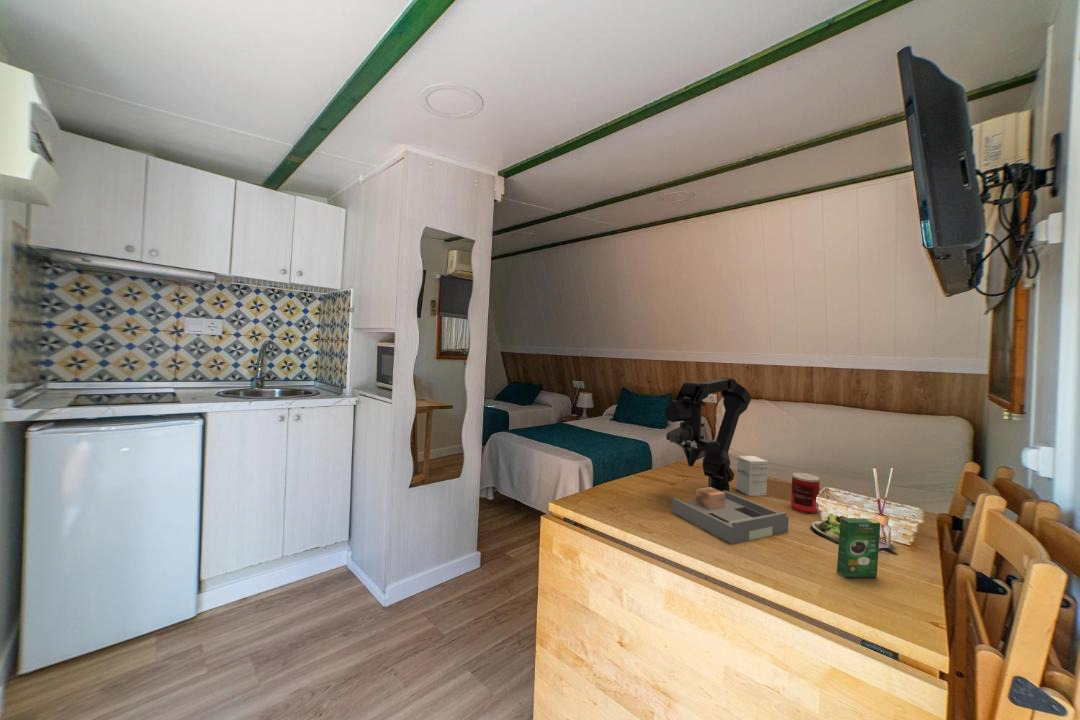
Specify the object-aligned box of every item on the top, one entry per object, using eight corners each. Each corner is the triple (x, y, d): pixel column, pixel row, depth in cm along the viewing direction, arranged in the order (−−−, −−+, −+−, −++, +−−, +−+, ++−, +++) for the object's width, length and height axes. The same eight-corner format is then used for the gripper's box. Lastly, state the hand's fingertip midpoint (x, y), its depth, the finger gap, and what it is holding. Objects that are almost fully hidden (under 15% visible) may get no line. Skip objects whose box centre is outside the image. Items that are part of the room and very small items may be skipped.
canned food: (810, 505, 143) (811, 473, 143) (823, 514, 135) (825, 480, 135) (786, 504, 144) (787, 471, 144) (798, 513, 136) (799, 479, 136)
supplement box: (735, 489, 158) (736, 455, 157) (753, 488, 159) (754, 455, 159) (748, 496, 151) (750, 461, 150) (767, 495, 152) (768, 460, 152)
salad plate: (918, 552, 112) (919, 535, 112) (869, 560, 107) (870, 542, 107) (846, 522, 130) (847, 507, 130) (801, 528, 125) (801, 513, 125)
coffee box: (868, 571, 101) (871, 517, 100) (878, 578, 98) (881, 522, 97) (835, 571, 100) (838, 516, 100) (845, 578, 97) (848, 522, 97)
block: (695, 502, 136) (696, 489, 136) (709, 500, 138) (710, 486, 138) (710, 509, 130) (710, 495, 130) (724, 507, 133) (725, 493, 133)
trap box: (672, 512, 134) (673, 495, 134) (724, 503, 143) (724, 487, 143) (731, 544, 113) (732, 523, 113) (787, 531, 122) (788, 512, 122)
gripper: (654, 416, 147) (653, 461, 148) (694, 426, 130) (692, 476, 130) (679, 414, 151) (678, 458, 152) (721, 424, 134) (719, 473, 135)
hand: (690, 466), depth 142 cm, fingers closed
